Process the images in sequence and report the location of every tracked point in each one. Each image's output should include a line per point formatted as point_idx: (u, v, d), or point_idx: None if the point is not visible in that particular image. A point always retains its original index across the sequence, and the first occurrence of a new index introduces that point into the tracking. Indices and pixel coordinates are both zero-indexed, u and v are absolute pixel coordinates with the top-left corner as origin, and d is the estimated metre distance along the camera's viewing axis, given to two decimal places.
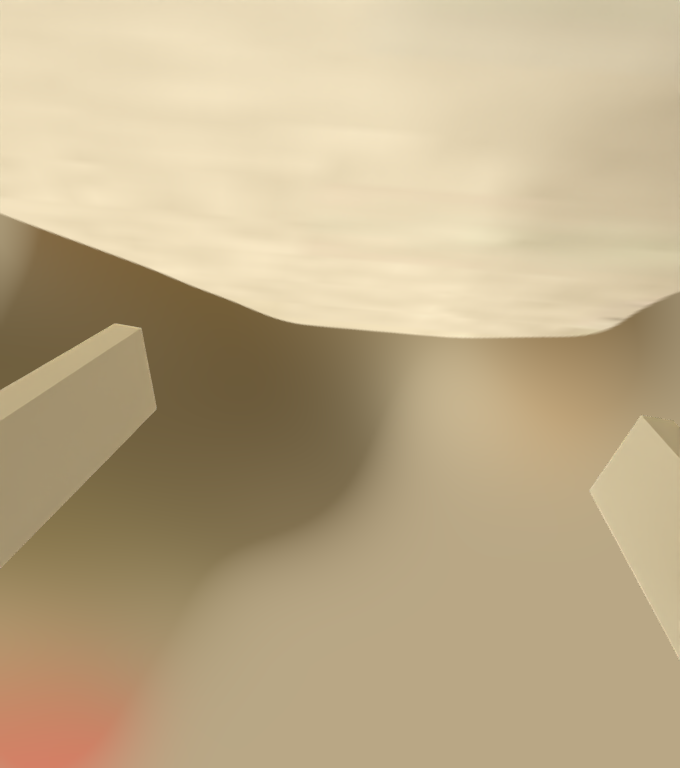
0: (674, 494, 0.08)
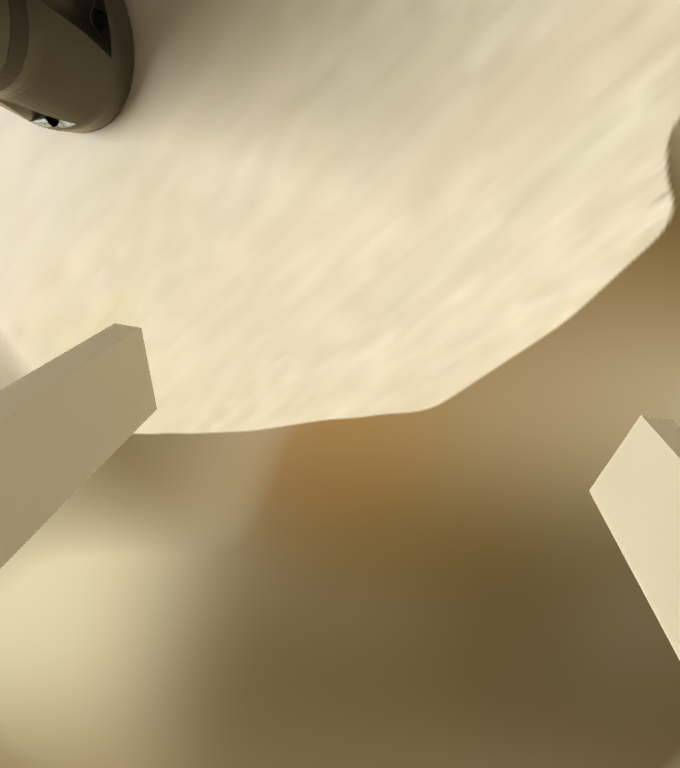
0: (674, 494, 0.08)
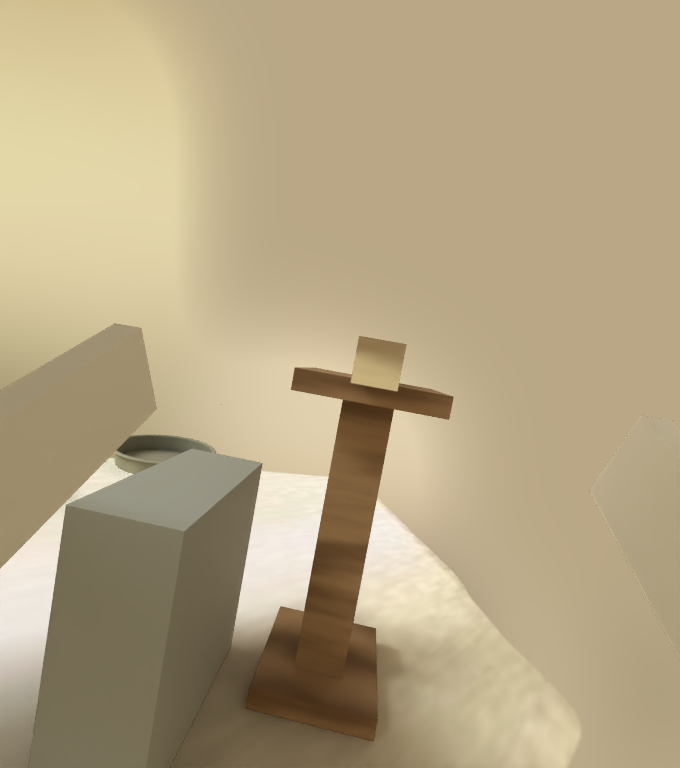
0: (674, 494, 0.08)
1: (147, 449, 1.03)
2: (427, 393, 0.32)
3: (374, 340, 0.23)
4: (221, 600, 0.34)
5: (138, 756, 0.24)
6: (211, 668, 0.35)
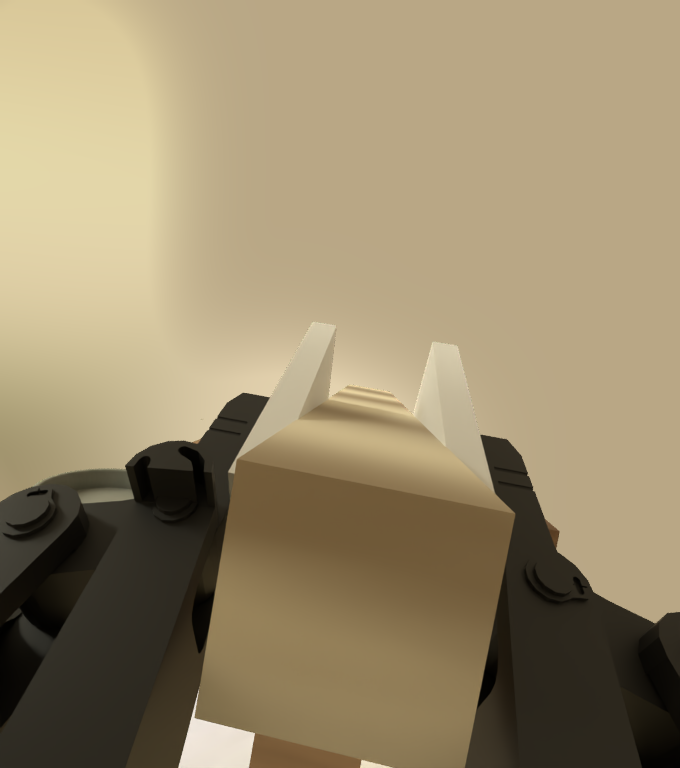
0: (430, 393, 0.10)
1: (90, 487, 0.83)
2: None
3: (324, 486, 0.04)
4: None
5: None
6: None
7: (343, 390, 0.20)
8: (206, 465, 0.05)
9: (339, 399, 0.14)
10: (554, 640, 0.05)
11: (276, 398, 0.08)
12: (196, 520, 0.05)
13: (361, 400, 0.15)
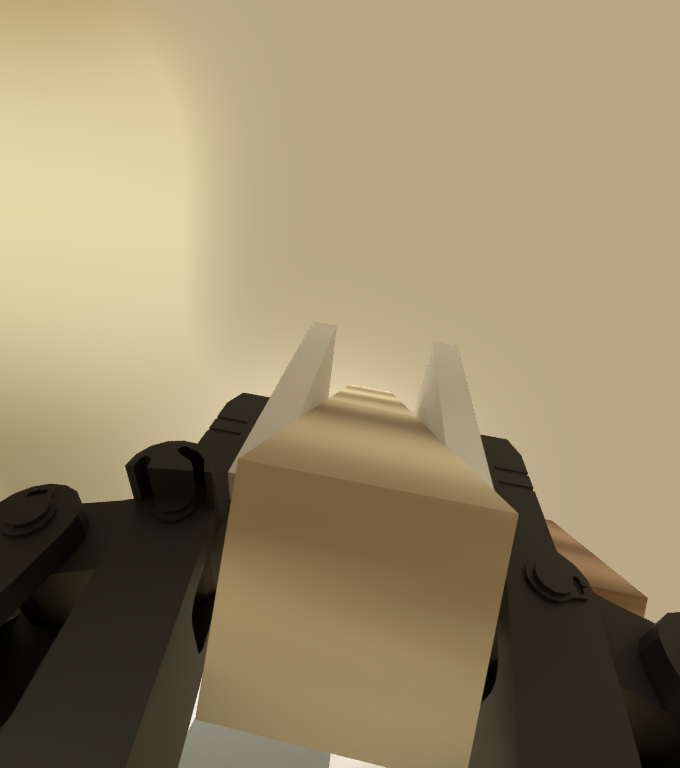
0: (430, 394, 0.10)
1: None
2: (608, 591, 0.22)
3: (326, 486, 0.04)
4: None
5: None
6: None
7: (344, 390, 0.19)
8: (206, 465, 0.05)
9: (340, 399, 0.14)
10: (554, 640, 0.05)
11: (276, 398, 0.08)
12: (196, 520, 0.05)
13: (362, 400, 0.15)
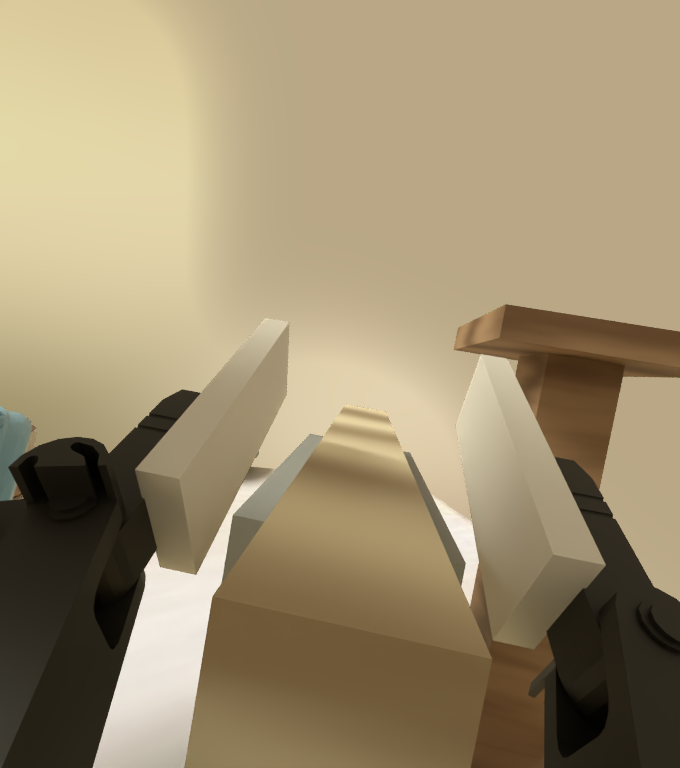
0: (486, 410, 0.10)
1: None
2: None
3: (300, 626, 0.04)
4: None
5: None
6: None
7: (338, 419, 0.19)
8: (100, 458, 0.05)
9: (332, 440, 0.14)
10: (677, 692, 0.04)
11: (206, 394, 0.08)
12: (95, 515, 0.05)
13: (354, 437, 0.15)
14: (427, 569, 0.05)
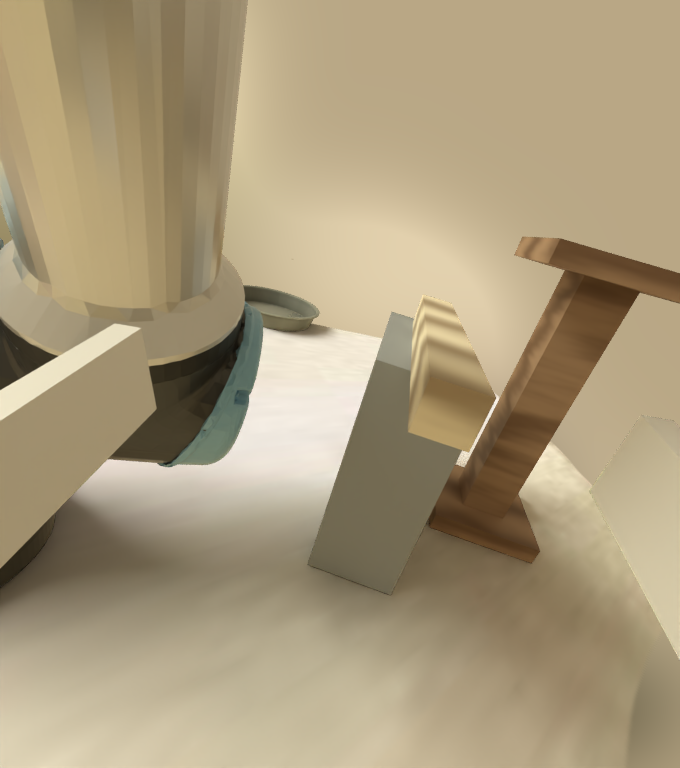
0: (674, 495, 0.08)
1: (250, 300, 1.05)
2: None
3: (451, 385, 0.17)
4: None
5: (404, 550, 0.32)
6: None
7: (425, 310, 0.31)
8: None
9: (431, 328, 0.25)
10: None
11: None
12: None
13: (441, 326, 0.27)
14: (481, 381, 0.18)
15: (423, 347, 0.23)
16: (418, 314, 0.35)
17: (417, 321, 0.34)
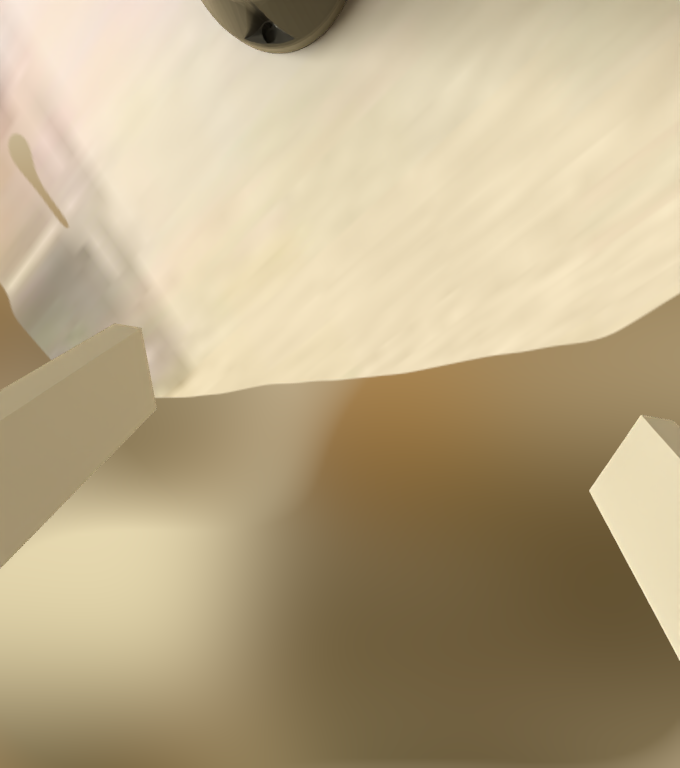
0: (674, 495, 0.08)
1: None
2: None
3: None
4: None
5: None
6: None
7: None
8: None
9: None
10: None
11: None
12: None
13: None
14: None
15: None
16: None
17: None
